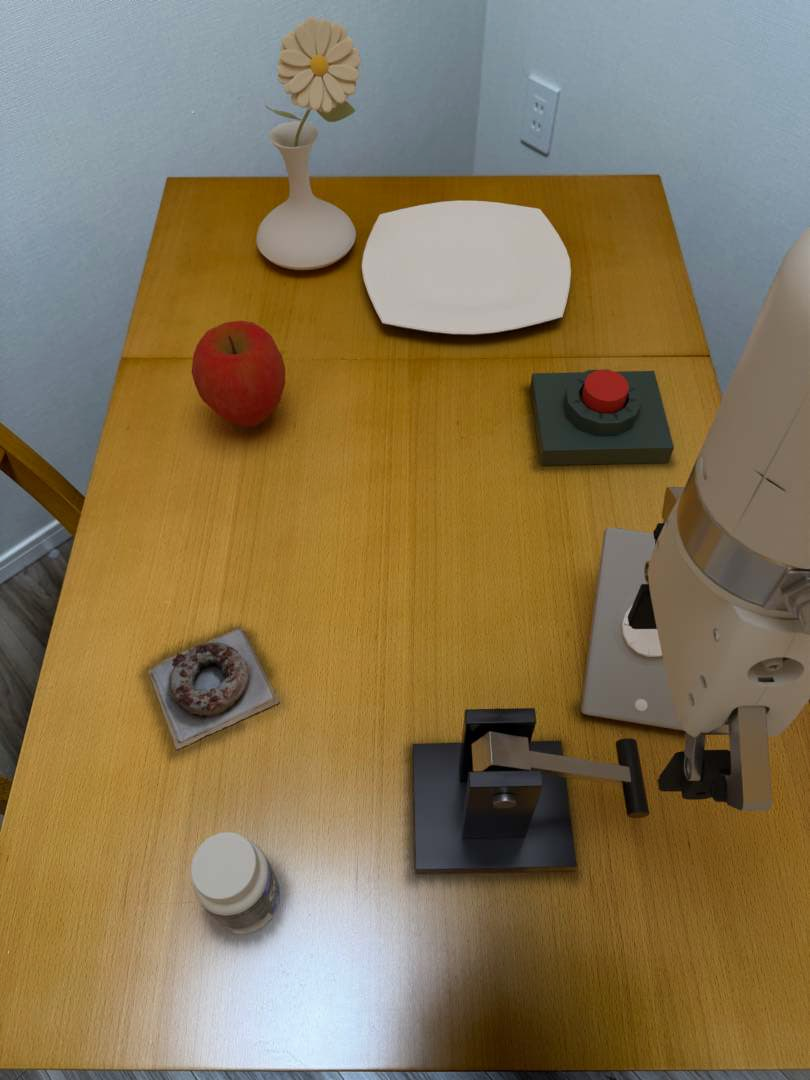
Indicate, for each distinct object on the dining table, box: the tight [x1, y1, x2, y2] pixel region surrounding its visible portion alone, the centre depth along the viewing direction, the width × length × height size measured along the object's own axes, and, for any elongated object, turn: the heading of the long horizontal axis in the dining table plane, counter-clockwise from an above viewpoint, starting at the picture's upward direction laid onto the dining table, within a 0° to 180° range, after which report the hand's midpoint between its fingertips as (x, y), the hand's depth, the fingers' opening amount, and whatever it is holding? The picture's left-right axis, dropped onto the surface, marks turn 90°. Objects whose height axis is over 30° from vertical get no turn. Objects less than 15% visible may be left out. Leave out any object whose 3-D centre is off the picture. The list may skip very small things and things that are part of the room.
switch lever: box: [472, 731, 650, 819], centre depth 55 cm, size 12×5×2 cm, turn 91°
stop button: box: [582, 369, 629, 414], centre depth 79 cm, size 4×4×2 cm
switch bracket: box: [412, 707, 578, 875], centre depth 57 cm, size 11×9×12 cm
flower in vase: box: [255, 16, 361, 271], centre depth 89 cm, size 13×11×25 cm
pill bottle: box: [190, 831, 281, 935], centre depth 55 cm, size 5×5×8 cm
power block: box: [529, 369, 675, 466], centre depth 81 cm, size 12×10×4 cm
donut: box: [147, 627, 280, 750], centre depth 67 cm, size 8×8×2 cm
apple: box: [190, 320, 286, 429], centre depth 80 cm, size 9×8×11 cm
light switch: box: [580, 526, 685, 732], centre depth 67 cm, size 8×6×14 cm
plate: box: [361, 200, 572, 336], centre depth 95 cm, size 23×23×2 cm
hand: (669, 700), depth 48 cm, fingers open, 9 cm apart
